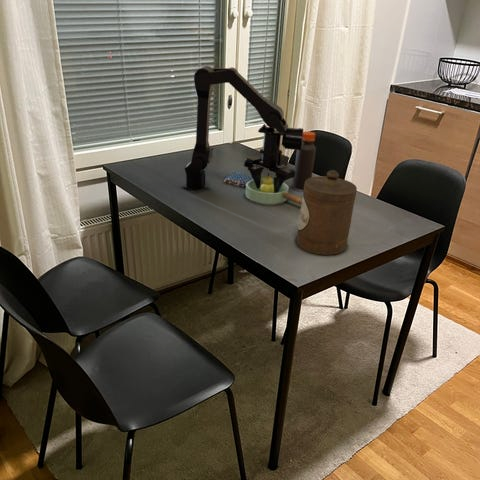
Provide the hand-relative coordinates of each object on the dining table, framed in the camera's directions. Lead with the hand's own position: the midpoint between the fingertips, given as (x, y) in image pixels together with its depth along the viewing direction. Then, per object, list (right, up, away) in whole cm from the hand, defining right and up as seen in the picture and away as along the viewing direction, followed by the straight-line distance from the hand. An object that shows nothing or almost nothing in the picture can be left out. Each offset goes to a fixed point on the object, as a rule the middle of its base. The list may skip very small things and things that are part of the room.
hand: (266, 191), depth 174 cm
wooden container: (+15, -23, -27) cm, 39 cm away
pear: (0, -1, +1) cm, 2 cm away
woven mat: (-9, +7, +12) cm, 17 cm away
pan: (0, -2, +1) cm, 2 cm away
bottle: (+14, +4, +11) cm, 18 cm away
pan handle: (+10, -6, -7) cm, 13 cm away
